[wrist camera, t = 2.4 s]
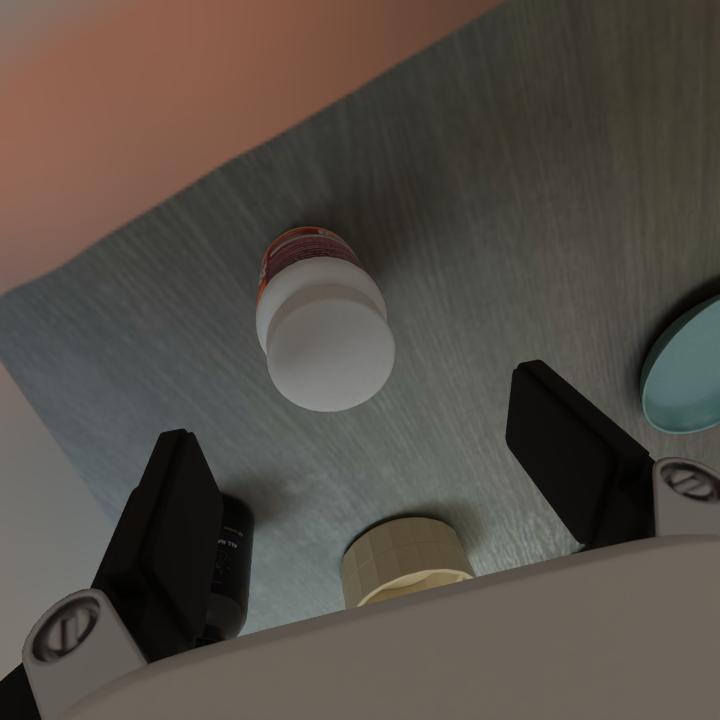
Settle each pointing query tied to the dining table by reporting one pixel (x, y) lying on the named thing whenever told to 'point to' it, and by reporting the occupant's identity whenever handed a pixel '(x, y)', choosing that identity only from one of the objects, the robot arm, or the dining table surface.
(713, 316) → the saucer
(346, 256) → the pill bottle
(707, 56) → the dining table surface
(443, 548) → the beige round bowl
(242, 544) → the supplement bottle
